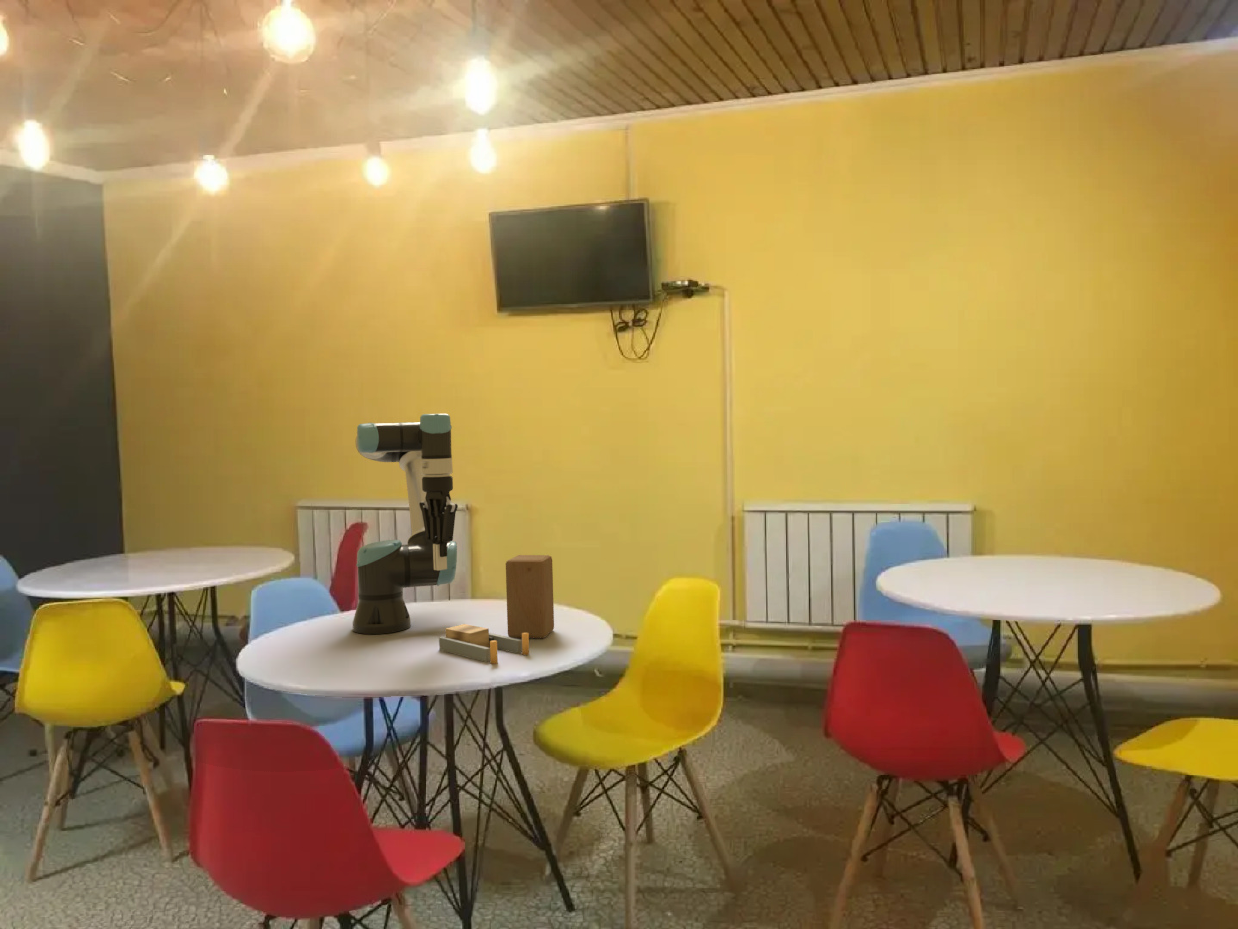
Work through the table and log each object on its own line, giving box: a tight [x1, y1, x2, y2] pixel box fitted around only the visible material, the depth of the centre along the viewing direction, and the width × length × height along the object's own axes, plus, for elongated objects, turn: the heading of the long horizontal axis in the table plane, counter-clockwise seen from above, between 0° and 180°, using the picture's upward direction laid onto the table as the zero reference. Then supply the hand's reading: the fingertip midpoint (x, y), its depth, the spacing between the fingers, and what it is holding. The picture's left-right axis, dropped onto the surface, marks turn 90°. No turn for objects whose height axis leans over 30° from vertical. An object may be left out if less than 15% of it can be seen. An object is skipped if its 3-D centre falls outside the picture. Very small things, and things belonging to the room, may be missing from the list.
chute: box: [438, 632, 530, 665], centre depth 219 cm, size 21×11×5 cm, turn 47°
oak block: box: [445, 623, 490, 648], centre depth 224 cm, size 9×6×5 cm, turn 50°
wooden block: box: [505, 554, 555, 640], centre depth 236 cm, size 10×10×20 cm
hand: (440, 569), depth 230 cm, fingers closed
